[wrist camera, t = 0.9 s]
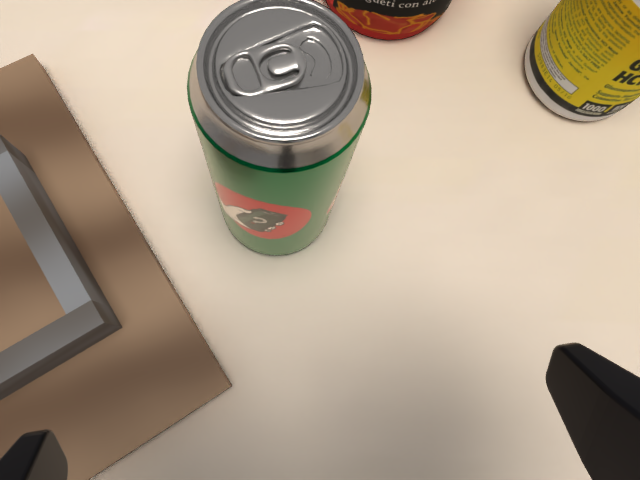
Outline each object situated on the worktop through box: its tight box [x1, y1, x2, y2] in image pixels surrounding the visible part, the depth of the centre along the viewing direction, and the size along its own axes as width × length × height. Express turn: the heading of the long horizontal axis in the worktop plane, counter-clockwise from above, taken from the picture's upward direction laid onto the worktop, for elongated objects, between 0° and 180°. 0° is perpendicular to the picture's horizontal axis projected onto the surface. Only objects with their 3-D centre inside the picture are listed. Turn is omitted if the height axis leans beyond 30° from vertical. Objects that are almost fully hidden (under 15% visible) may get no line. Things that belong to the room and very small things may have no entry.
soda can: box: [187, 0, 371, 255], centre depth 19 cm, size 5×5×12 cm
